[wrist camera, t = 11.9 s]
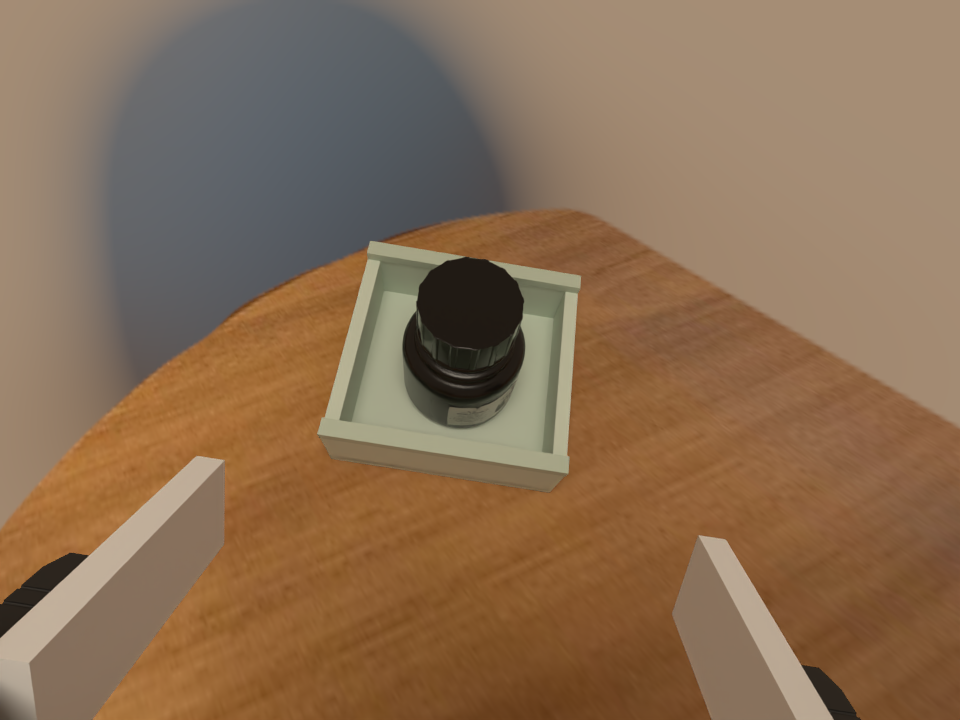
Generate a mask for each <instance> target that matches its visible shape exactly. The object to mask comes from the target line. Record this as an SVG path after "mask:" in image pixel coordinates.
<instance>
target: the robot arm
mask: <svg viewBox="0 0 960 720" xmlns="http://www.w3.org/2000/svg"><path fill="white" fill-rule="evenodd" d="M224 487H225V460H220V459H213V458H207V457H201V456H196V457H195V458H194V459H193V460H192V461H191V462H190V463H189V464H188V465H186V466H185V467H184V468H183V469H182V470H181V471H180V472H179V473H178V474H177V475H176V476H175V477H174V478H172V479H171V480H170V481H169V482H168V483H167V484H166V485H165V486H164V487H163V488H162V489H161V490H159V491H158V492H157V493H156V494H155V495H154V496H153V497H152V498H151V499H150V500H149V501H148V502H147V503H145V504H144V505H143V506H142V507H141V508H140V509H139V510H138V511H137V512H136V513H135V514H134V515H133V516H131V517H130V518H129V519H128V520H127V521H126V522H125V523H124V524H123V525H122V526H121V527H120V528H119V529H117V530H116V531H115V532H114V533H113V534H112V535H111V536H110V537H109V538H108V539H107V540H106V541H104V542H103V543H102V544H101V545H100V546H99V547H98V548H97V549H96V550H95V551H94V552H93V553H92V554H90V555H82V554H76V553H69V554H67V555H65V556H63V557H61V558H59V559H57V560H55V561H53V562H51V563H49V564H47V565H46V566H44V567H42V568H41V569H40V570H39V571H37V572H36V573H35V574H34V575H33V576H32V577H30V578H29V579H28V580H27V581H26V582H25V583H23V584H22V586H21V588H20V589H16V590H15V591H14V592H13V593H12V594H11V595H10V596H8V597H7V598H6V599H5V600H4V602H3V604H0V720H92V719H93V718H94V717H95V715H96V714H97V713H98V711H99V710H100V709H101V707H102V706H103V705H104V703H105V702H106V701H107V699H108V698H109V697H110V695H111V694H112V693H113V691H114V690H115V689H116V687H117V686H118V685H119V683H120V682H121V681H122V679H123V678H124V677H125V675H126V674H127V673H128V671H129V670H130V669H131V667H132V666H133V665H134V663H135V662H136V661H137V659H138V658H139V657H140V655H141V654H142V653H143V651H144V650H145V649H146V647H147V646H148V645H149V643H150V642H151V641H152V639H153V638H154V637H155V635H156V634H157V633H158V631H159V630H160V629H161V627H162V626H163V625H164V623H165V622H166V621H167V619H168V618H169V617H170V615H171V614H172V613H173V611H174V610H175V609H176V607H177V606H178V605H179V603H180V602H181V601H182V599H183V598H184V597H185V595H186V594H187V593H188V591H189V590H190V589H191V587H192V586H193V585H194V583H195V582H196V581H197V579H198V578H199V577H200V576H201V574H202V573H203V572H204V570H205V569H206V568H207V566H208V565H209V564H210V562H211V561H212V560H213V558H214V557H215V556H216V554H217V553H218V552H219V550H220V549H221V548H222V546H223V545H224ZM672 616H673V618H674V621H675V624H676V626H677V629H678V632H679V634H680V637H681V640H682V642H683V645H684V648H685V650H686V653H687V656H688V658H689V661H690V664H691V666H692V669H693V671H694V674H695V677H696V679H697V682H698V685H699V687H700V690H701V693H702V695H703V698H704V701H705V703H706V706H707V709H708V711H709V714H710V717H711V719H712V720H861V719H860V718H858V717H857V716H856V712H855V710H854V709H853V707H852V706H851V704H850V702H849V701H848V699H847V698H846V696H845V695H844V693H843V692H842V690H841V689H840V688H839V687H838V686H837V685H836V684H835V683H834V682H833V681H832V680H831V679H830V678H829V677H828V676H827V675H826V674H825V673H824V672H823V671H822V670H821V669H820V668H816V667H810V666H804V665H801V664H800V663H799V661H798V659H797V658H796V656H795V654H794V653H793V651H792V649H791V648H790V646H789V644H788V643H787V641H786V639H785V638H784V636H783V634H782V633H781V631H780V629H779V628H778V626H777V624H776V623H775V621H774V619H773V618H772V616H771V614H770V613H769V611H768V609H767V608H766V606H765V604H764V603H763V601H762V599H761V598H760V596H759V594H758V593H757V591H756V589H755V587H754V586H753V584H752V582H751V581H750V579H749V577H748V576H747V574H746V572H745V571H744V569H743V567H742V566H741V564H740V562H739V561H738V559H737V557H736V556H735V554H734V552H733V551H732V549H731V547H730V546H729V544H728V542H727V541H726V539H719V538H713V537H707V536H700V535H698V538H697V541H696V544H695V547H694V550H693V553H692V556H691V559H690V562H689V565H688V568H687V571H686V574H685V577H684V580H683V583H682V586H681V589H680V592H679V595H678V598H677V600H676V603H675V606H674V609H673V612H672Z"/></svg>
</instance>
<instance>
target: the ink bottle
mask: <svg viewBox="0 0 960 720" xmlns="http://www.w3.org/2000/svg"><path fill="white" fill-rule="evenodd" d="M523 305H524V298H523V297H522V294H521V291H520V289H519V284H518V283H517V281H516V280H514V279H513V278H512V277H511V276H510V275H509V274H508V272H507V271H506V270H505V269H504V268H502V267H499V266H497V265H495V264H493V263H491V262H489V261H488V260H486V259H476V258H469V257H463V258H459V259H454V260H447V261H445V262H444V263H442V264H441V265H439V266H437V267H436V268H434V269H432V270H430V271H429V272H428V275H427V276H426V278H425V279H424V280H423V282H422V283H421V284H420V285H419V292H418V298H417V301H416V311H415V313H414V314H413V315H412V317H411V318H410V320H409V322H408V324H407V326H406V328H405V331H404V335H403V341H402V354H403V369H404V381H405V387H406V390H407V393H408V395H409V397H410V399H411V401H412V402H413V404H414V405H415V406H416V408H417V409H418V410H419V411H420V412H421V413H423V414H424V415H425V416H426V417H428V418H429V419H431V420H433V421H435V422H437V423H439V424H441V425H444V426H448V427H453V428H471V427H475V426H478V425H481V424H483V423H485V422H487V421H489V420H490V419H492V418H493V417H495V416H496V415H497V414H498V413H499V412H500V411H501V410H502V409H503V408H504V406H505V405H506V403H507V402H508V400H509V398H510V396H511V394H512V391H513V389H514V386H515V383H516V381H517V378H518V376H519V373H520V370H521V367H522V365H523V361H524V356H525V338H524V334H523V331H522V328H521V326H520V325H521V322H522V319H523Z"/></svg>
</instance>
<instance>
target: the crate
mask: <svg viewBox="0 0 960 720" xmlns="http://www.w3.org/2000/svg"><path fill="white" fill-rule="evenodd" d="M367 256H368V261H367V264H366V268H365V272H364V275H363V279H362V283H361V286H360V290H359V294H358V297H357V301H356V305H355V308H354V312H353V316H352V319H351V323H350V327H349V331H348V334H347V338H346V342H345V345H344V349H343V353H342V356H341V360H340V364H339V367H338V371H337V375H336V378H335V382H334V386H333V389H332V393H331V397H330V400H329V404H328V408H327V411H326V415H325V418H322V419H321V423H320V426H319V430H318V434H317V435H318V436H319V438H321V440H322V442H323V444H324V446H325V448H326V449H327V451H328V453H329V455H330V457H331V459H337V460H343V461H350V462H356V463H362V464H369V465H375V466H382V467H388V468H394V469H401V470H407V471H414V472H420V473H427V474H433V475H439V476H446V477H452V478H459V479H465V480H472V481H478V482H484V483H491V484H497V485H504V486H510V487H516V488H523V489H529V490H536V491H542V492H550V491H551V490H552V489H553V488H554V487H555V486H556V485H557V484H558V483H559V482H560V481H561V480H562V479H563V477H564V476H565V477H566V476H567V475H568V471H569V456H567V448H568V432H569V417H570V402H571V387H572V372H573V357H574V342H575V326H576V311H577V296H578V292H579V290H580V283H581V276H579V275H573V274H567V273H561V272H555V271H549V270H543V269H537V268H531V267H524V266H518V265H512V264H506V263H500V262H494V261H489V262H491V263H493V264H495V265H497V266H499V267H502V268H504V269H505V270H506V271H507V272H508V274H509V275H510V276H511V277H512V278H513V279H514V280H516V281H517V283H518V284H519V289H520V291H521V294H522V297H523V298H524V305H523V319H522V322H521V325H520V326H521V328H522V331H523V334H524V338H525V356H524V361H523V365H522V367H521V370H520V373H519V376H518V378H517V381H516V383H515V386H514V389H513V391H512V394H511V396H510V398H509V400H508V402H507V403H506V405H505V406H504V408H503V409H502V410H501V411H500V412H499V413H498V414H497V415H496V416H495V417H493V418H492V419H490V420H489V421H487V422H485V423H483V424H481V425H478V426H475V427H471V428H453V427H448V426H444V425H441V424H439V423H437V422H435V421H433V420H431V419H429V418H428V417H426V416H425V415H424V414H423V413H421V412H420V411H419V410H418V409H417V408H416V406H415V405H414V404H413V402H412V401H411V399H410V397H409V395H408V393H407V390H406V387H405V381H404V369H403V354H402V341H403V335H404V331H405V328H406V326H407V324H408V322H409V320H410V318H411V317H412V315H413V314H414V313H415V311H416V301H417V298H418V292H419V285H420V284H421V283H422V282H423V280H424V279H425V278H426V276H427V275H428V272H429V271H430V270H432V269H434V268H436V267H437V266H439V265H441V264H442V263H444V262H445V261H447V260H454V259H459V258H463V257H464V256H458V255H452V254H446V253H440V252H434V251H428V250H422V249H416V248H410V247H404V246H398V245H392V244H386V243H380V242H374V241H370V244H369V248H368V251H367ZM469 258H470V257H469Z"/></svg>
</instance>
